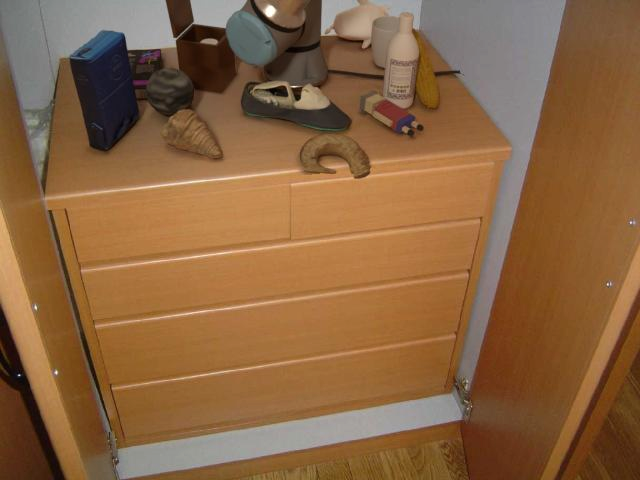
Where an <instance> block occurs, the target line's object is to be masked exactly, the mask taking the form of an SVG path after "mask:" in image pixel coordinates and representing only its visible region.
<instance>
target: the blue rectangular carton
mask: <svg viewBox="0 0 640 480" xmlns="http://www.w3.org/2000/svg"><path fill="white" fill-rule="evenodd" d="M128 50H129V49H128V45H127V37H126V35H125V33H124V32H121V31H120V32H118V31H115V30H106V29H101V30H100V31H99V32H97V34H96V35H95V36H94V37H92V38H91V39H90V40H88V41H87V42H86V43H84V44H83V45H82V46H79V48H78V49H76V50H74V51H73V52H72V53H70V54H69V57H68V59H69V65H70V66H69V67H70V70H71V75H72V78H73V82H74V86H75V89H76V93H77V96H78V97H77V98H78V100H79V105H80V109H81V113H82V117H83V121H84V126H85V130H86V134H87V138H88V143H89V147H90V148H91V149H94V150H98V151H104V152H106V151H108V150H109V149H111V148H113V146H114V145H115V144H116V143H117V142H118V141H119V139H121V138H122V137H123V136H124V135H125V134H126V133H127V132H128V131H129V130H130V129H131V127H132V126H133V125H134V124H135V123H136V121H137V120H138V118H140V108H139V103H138V99H137V98H136V93H135V88H134V83H133V77H132V72H131V67H130V62H129V57H128Z"/></svg>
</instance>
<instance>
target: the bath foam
mask: <svg viewBox="0 0 640 480" xmlns="http://www.w3.org/2000/svg"><path fill="white" fill-rule="evenodd" d="M398 17H399V26H398V32H397V33H396V34H395V35H394V37H393V38H392V39H391V41H390V42H389V45H388V47H387V52H386V61H385V68H384V74H383V75H384V78H383V85H382V95H381V96H382V97H384V100H386V99H387V100H389V101H390V102H392V103H394V104H396V105H397V106H399V107H401V108H402V109H404V110H406V109H408V108H410V107H411V106H412V105H413V104H414V98H415V93H416V89H415V84H416V76H417V68H418V60H419V47H418V43H417V41H416V39H415V37H414V35H413V33H412V28H413V29H414V27H413V26H414V19H415V16H414V14H413V13H411V12H400V14H399V16H398Z"/></svg>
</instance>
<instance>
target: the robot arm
mask: <svg viewBox="0 0 640 480" xmlns="http://www.w3.org/2000/svg"><path fill="white" fill-rule="evenodd" d="M322 13H323V0H246V1H245V3H244V5H243V6H242V7H241V8H240V9H239V10H235V11H234V13H231V16H230V17H229V18H228V19H227V21H226V25H225V28H226V37H227V39H228V41H229V45H230V47H231V49H232V50H233V52H234V53H235V57H237V58H238V59H239V60H240V61H242V62H243V63H245V64H247V65H249V66H251V67H259V68H260V67H262V78H263V80H264V83H266V82H271V81H286V82H288V83H289V84H290V87H291V89H292V92H301V91H302V89H303V87H304V86H305V85H307V84H311V85H312V86H313V87H318V88H319V87H321V86H323V85H324V84H325V83H326V82H327V80H328V77H329V74H338V75H347V76H354V77H365V78H372V79H373V78H374V79H384V74H383V75H382V74H373V73H372V74H371V73H362V72H354V71H346V70H338V69H329V68H328V65H327V61H326V57H325V55H324V52H323V48H322V16H323V15H322ZM460 71H461V70H458V69H457V70H442V71H441V70H440V71H433V72H434V75H435V76H441V75H453V74H454V75H455V74H457V75H463V76H465V75H464V74H461V73H460ZM274 88H277V89H280V90H284V91H288V90H287V88H286V86H285V85H281V86H277V87H274Z"/></svg>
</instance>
